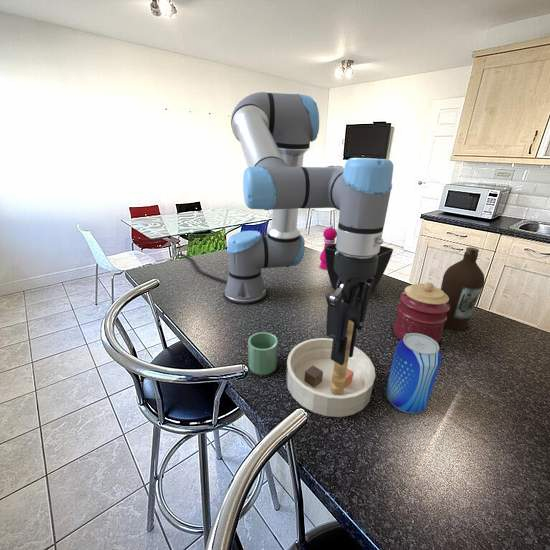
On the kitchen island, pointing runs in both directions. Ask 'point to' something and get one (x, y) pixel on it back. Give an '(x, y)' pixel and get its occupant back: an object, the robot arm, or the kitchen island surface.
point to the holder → (262, 353)
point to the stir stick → (341, 370)
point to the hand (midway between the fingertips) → (341, 357)
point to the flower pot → (382, 263)
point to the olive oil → (462, 289)
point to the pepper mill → (327, 243)
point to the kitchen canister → (421, 311)
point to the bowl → (328, 379)
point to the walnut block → (313, 376)
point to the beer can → (413, 372)
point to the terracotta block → (348, 377)
